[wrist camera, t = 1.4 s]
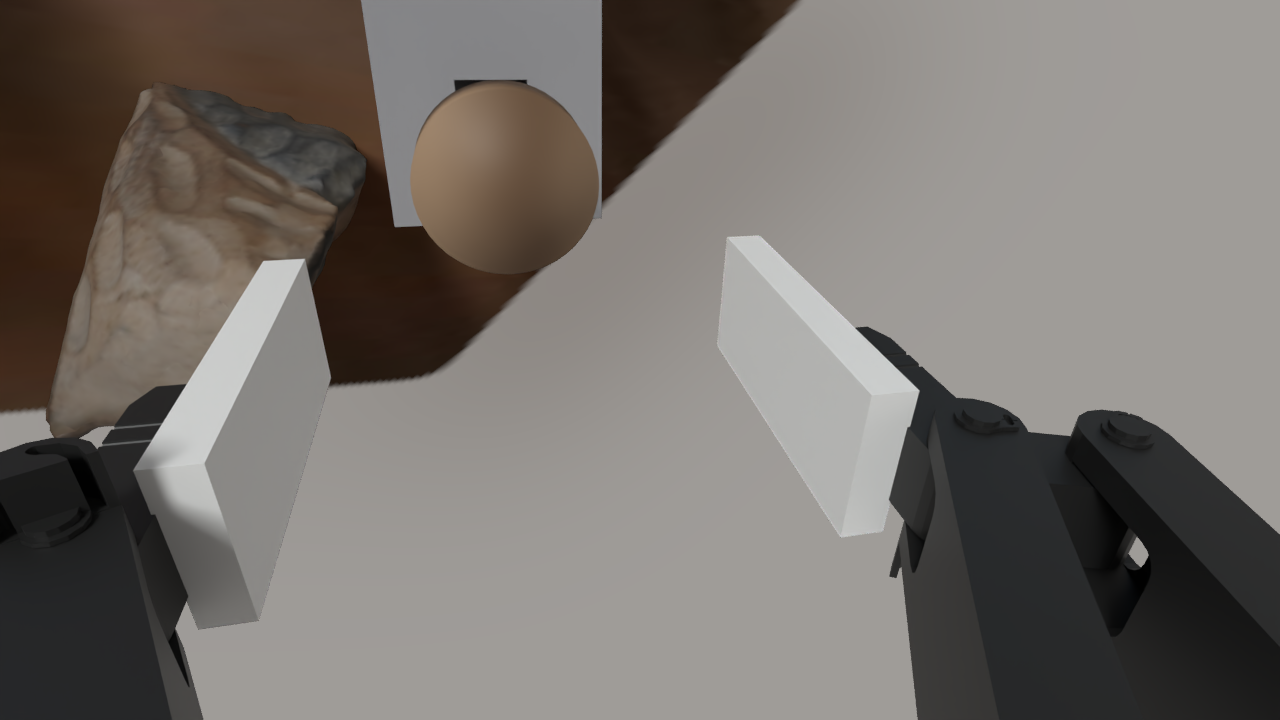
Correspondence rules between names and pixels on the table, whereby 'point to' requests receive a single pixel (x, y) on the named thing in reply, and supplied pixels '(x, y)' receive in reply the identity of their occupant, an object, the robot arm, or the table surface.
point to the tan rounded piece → (503, 177)
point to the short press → (478, 67)
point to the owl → (191, 241)
